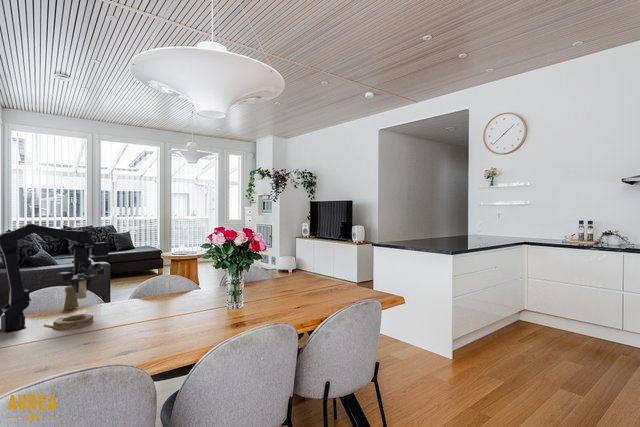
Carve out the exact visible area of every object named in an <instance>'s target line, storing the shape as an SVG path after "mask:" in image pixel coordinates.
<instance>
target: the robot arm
mask: <svg viewBox="0 0 640 427" xmlns="http://www.w3.org/2000/svg"><path fill="white" fill-rule="evenodd" d="M32 234H34V235H35V234H37V235H42V236H49V237H55V238H60V239H65V240H68V241H70V242H74V243H72V244H71V245H70V246H68V247H67V248H68V249H69V250H73V260H71V263H72V264H73V269H71V271H62V272H58V273H56V275H55V280H57V281H68V282H69V284H70V286H72V287H73V289H74V291H75V292H76V294H77V293H78V290H79V289H78V282H79V280H80V277H81V276H82V278H85V280H86V292H88V290H89V287H90V284H91V282H92V281H93V279H94V278H97V275H103V274H105V275H106V271H105V270H106V269H105V268H104V267H102V264H101V263H100V262H99V263H95V264H94V263H93V264H92V260H91V259H90V256H92V258H100V257H108V256H109V252H110V250H109V246H108V242H106V241H103V242H94V240H93V239H92V238H91V235H90V233H89V232H88V231H85V230H73V229H70V230H67V229H60V228H54V227H49V226H44V225H38V224H35V223H26V224H25V225H23V226H22V227H19V228H16V229H14V230H12V231H10V232H5V231H4V232H1V233H0V251H1V253H2V255H3V258H4V263H5V268H6V273H7V279H8V280H7V281H8V286H9V294H8V302H7V304H6V305H4V306H3V307H2V308H1V311H2V312H3V314H2V315H1V316H0V332H3V333H11V332H14V331H15V332H16V331H19V330H24V329H26V328H27V326H25V325H26V316H25V313H24V310H26V309H27V308H28V307H29V306H30V301H32V299H31V297H30V290H29V289H28V288H25V289H24V287H23V282H22V278H21V271H20V266H19V262H18V261H19V260H18V256H17V253H18V243H19V241H20V240H22V239H25V238H26V237H28V236H30V235H32ZM75 243H77V244H75ZM84 245H85V246H84Z"/></svg>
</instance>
